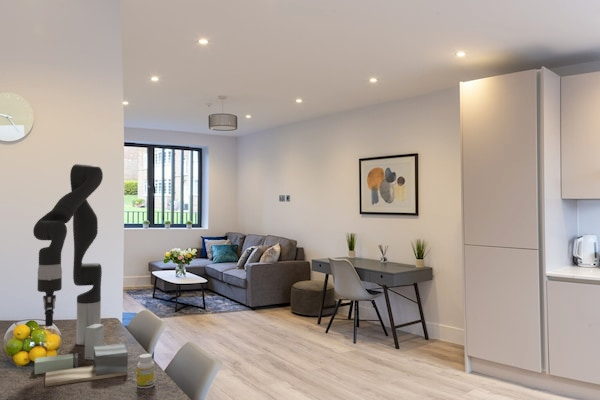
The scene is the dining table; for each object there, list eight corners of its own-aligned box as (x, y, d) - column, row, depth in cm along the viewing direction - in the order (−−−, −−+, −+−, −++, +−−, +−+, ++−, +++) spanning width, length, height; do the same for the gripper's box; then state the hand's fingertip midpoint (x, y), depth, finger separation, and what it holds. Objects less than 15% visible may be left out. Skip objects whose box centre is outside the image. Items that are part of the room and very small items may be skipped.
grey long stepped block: (45, 374, 163) (46, 352, 163) (123, 364, 174) (123, 343, 174) (44, 386, 152) (45, 362, 152) (127, 374, 164) (127, 352, 164)
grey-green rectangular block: (35, 369, 169) (35, 358, 169) (77, 363, 175) (77, 353, 175) (34, 374, 164) (34, 362, 164) (77, 368, 170) (78, 357, 170)
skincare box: (94, 360, 179) (94, 328, 179) (84, 359, 179) (84, 327, 180) (104, 355, 184) (104, 324, 185) (94, 354, 185) (94, 323, 185)
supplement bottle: (139, 382, 156) (139, 352, 156) (156, 382, 157) (156, 352, 157) (134, 389, 151) (135, 358, 151) (152, 388, 151) (152, 357, 151)
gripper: (38, 275, 173) (37, 320, 173) (36, 280, 160) (36, 329, 160) (61, 274, 176) (60, 318, 176) (61, 279, 164) (61, 326, 163)
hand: (49, 323), depth 168 cm, fingers open, 8 cm apart
